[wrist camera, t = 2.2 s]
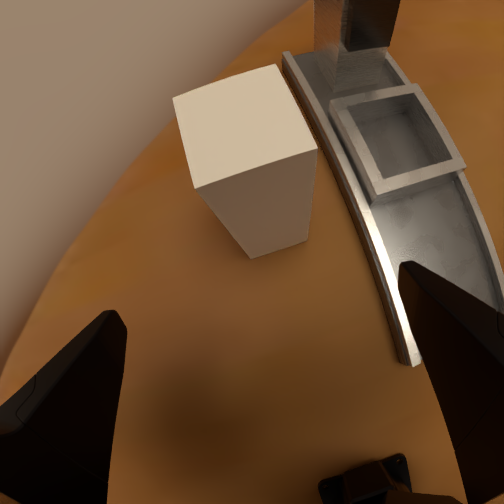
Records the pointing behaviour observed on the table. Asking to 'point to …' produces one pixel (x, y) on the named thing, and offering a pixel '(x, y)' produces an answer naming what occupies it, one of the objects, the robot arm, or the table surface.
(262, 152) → the white angular block
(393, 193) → the rail
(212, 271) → the table surface
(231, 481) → the table surface
